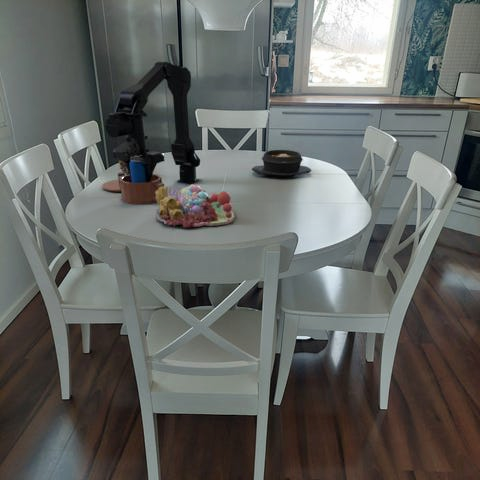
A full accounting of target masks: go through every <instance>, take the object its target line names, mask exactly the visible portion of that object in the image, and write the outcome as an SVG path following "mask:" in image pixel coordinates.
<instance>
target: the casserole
mask: <svg viewBox="0 0 480 480" xmlns="http://www.w3.org/2000/svg"><path fill="white" fill-rule="evenodd" d="M261 160H262V162H263V164H261V165H255V166H253V167H252V168H251V171H252V172H253V173H256V174H262V175H263V174H264V175H269V176H271V177H276V178H288V177H289V178H290V177H293V176H294V177H295V175H304V174H310V173H311V172H312V171H313V170H312V169H311V168H310V167H309V166H306V165H301V163H302V162H303V160H304V159H303V157H302V154H301V153H300V152H299V151H295V150H290V149H288V150H287V149H272V150H267V151H265V152H264V153H263V156H262V157H261Z"/></svg>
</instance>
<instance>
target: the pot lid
mask: <svg viewBox="0 0 480 480" xmlns="http://www.w3.org/2000/svg"><path fill="white" fill-rule="evenodd" d="M125 175H126V173H124V172H122V171H120V172H117V179H112V180H109V181H106V182H104V183H102V185H101V188H102V189H103V190H105V191H109V192H120V193H121V186H120V180H119V178H118V177H120V176H125Z"/></svg>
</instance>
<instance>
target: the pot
mask: <svg viewBox="0 0 480 480" xmlns="http://www.w3.org/2000/svg"><path fill="white" fill-rule="evenodd" d="M118 178H119V180H120V186H121V192H120V193H121V200H122V201H123V202H124V203H126V204H131V205H149V204H154V203H157V201H156V198H155V197H156V193H155V192H156V190H158V188H160V187H161V186H165V183H164V182H162V176H161V175H159V174H156V173H153V174H152V177H151V182H146V183H132V179H131V175H126V174H125V176H120V177H118V176H117V179H118Z"/></svg>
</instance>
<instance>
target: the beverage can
mask: <svg viewBox="0 0 480 480" xmlns="http://www.w3.org/2000/svg"><path fill="white" fill-rule="evenodd" d="M141 163H145V161H144V159H141V158H132V159H130V171H131V179H132V183H146V182H147V181H146V175H145V168H144V167H143V165H142V164H141ZM150 182H151V180H150Z"/></svg>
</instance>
